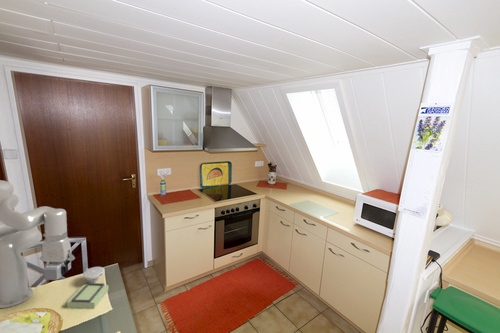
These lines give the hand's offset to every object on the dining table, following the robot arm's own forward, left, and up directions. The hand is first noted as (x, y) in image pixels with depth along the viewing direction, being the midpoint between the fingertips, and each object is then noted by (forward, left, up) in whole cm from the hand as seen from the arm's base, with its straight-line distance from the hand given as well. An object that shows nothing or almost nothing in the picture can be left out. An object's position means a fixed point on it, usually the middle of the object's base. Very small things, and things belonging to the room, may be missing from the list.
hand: (58, 272), depth 104 cm
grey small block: (0, 0, -1) cm, 1 cm away
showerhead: (+7, +15, -16) cm, 23 cm away
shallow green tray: (+12, +3, -16) cm, 20 cm away
